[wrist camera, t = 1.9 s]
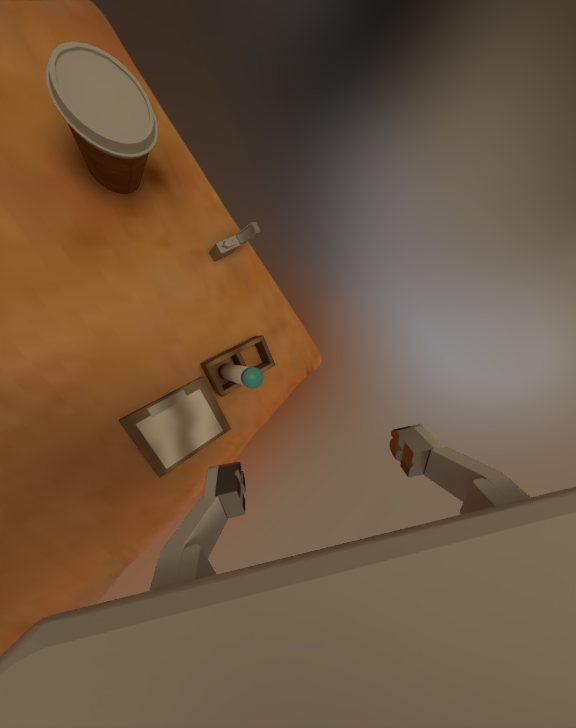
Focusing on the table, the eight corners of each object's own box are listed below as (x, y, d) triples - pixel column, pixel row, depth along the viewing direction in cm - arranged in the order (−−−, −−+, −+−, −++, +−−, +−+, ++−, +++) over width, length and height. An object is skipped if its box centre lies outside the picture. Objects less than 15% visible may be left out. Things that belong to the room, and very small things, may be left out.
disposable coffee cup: (66, 118, 31) (34, 8, 21) (149, 149, 36) (154, 73, 26) (76, 194, 32) (48, 122, 22) (155, 213, 37) (162, 163, 27)
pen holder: (216, 393, 44) (222, 396, 41) (200, 363, 42) (205, 364, 39) (267, 364, 50) (275, 365, 47) (255, 336, 48) (263, 335, 45)
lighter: (214, 261, 42) (228, 245, 36) (208, 252, 42) (222, 234, 35) (243, 247, 45) (262, 230, 39) (239, 238, 45) (257, 219, 38)
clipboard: (159, 476, 39) (160, 480, 38) (119, 419, 36) (118, 422, 34) (230, 428, 46) (232, 430, 45) (202, 376, 42) (204, 377, 41)
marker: (220, 381, 44) (249, 392, 33) (213, 367, 43) (240, 373, 32) (234, 373, 46) (266, 381, 35) (227, 359, 45) (258, 363, 34)
